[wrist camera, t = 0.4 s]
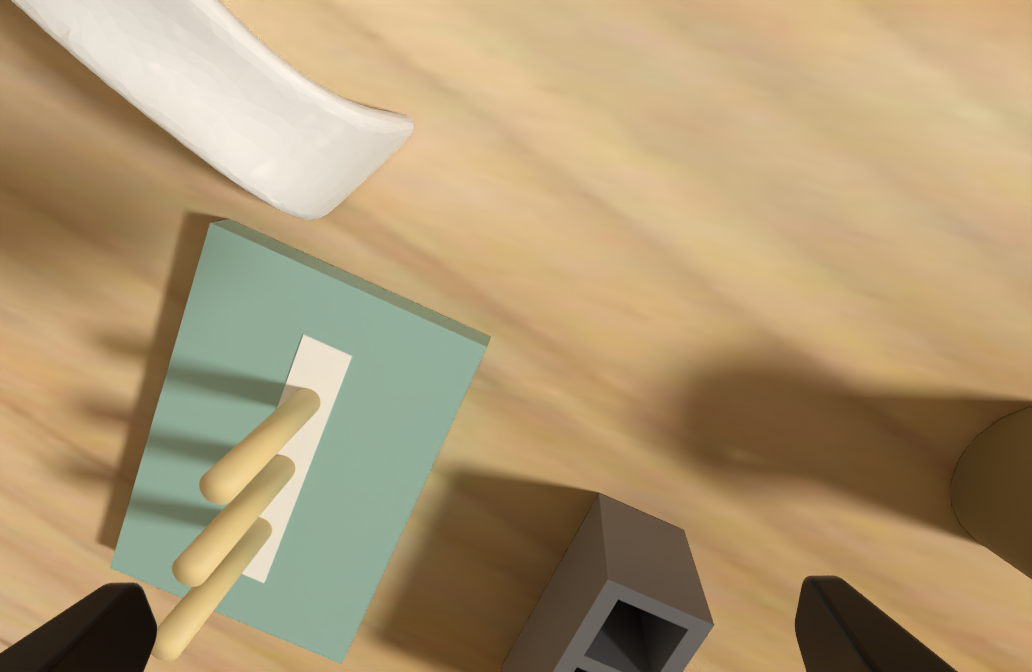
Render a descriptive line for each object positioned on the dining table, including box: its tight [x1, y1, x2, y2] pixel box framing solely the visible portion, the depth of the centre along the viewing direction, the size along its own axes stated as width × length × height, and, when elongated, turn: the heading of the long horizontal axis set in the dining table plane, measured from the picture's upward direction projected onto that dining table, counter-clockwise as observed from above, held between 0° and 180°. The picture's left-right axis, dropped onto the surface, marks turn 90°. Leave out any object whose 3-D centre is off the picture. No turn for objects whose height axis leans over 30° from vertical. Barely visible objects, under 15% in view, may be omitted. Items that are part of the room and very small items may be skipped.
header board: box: [110, 219, 491, 664], centre depth 21 cm, size 15×10×7 cm, turn 156°
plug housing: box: [501, 493, 714, 672], centre depth 23 cm, size 9×4×5 cm, turn 156°
